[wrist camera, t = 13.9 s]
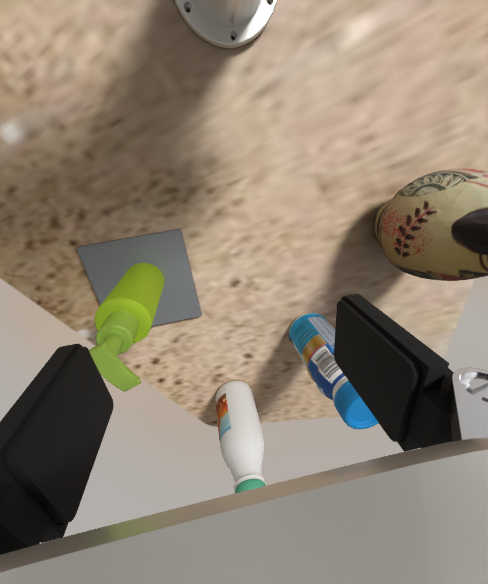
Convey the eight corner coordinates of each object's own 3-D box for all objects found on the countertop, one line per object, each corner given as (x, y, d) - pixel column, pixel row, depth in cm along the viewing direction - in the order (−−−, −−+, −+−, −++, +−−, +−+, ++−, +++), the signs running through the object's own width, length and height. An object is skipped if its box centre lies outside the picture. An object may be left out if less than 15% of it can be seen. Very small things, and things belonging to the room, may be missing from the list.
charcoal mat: (78, 246, 37) (75, 248, 36) (180, 228, 39) (180, 229, 38) (115, 331, 43) (113, 334, 42) (201, 313, 45) (201, 315, 44)
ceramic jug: (456, 191, 44) (871, 207, 17) (407, 271, 49) (667, 383, 22) (381, 150, 39) (798, 80, 12) (335, 244, 44) (557, 343, 17)
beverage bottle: (327, 307, 49) (403, 380, 31) (327, 342, 53) (395, 426, 34) (285, 315, 48) (339, 395, 30) (288, 350, 52) (337, 441, 34)
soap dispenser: (144, 308, 42) (104, 405, 24) (117, 274, 39) (47, 355, 21) (175, 291, 41) (159, 376, 23) (150, 255, 38) (109, 322, 20)
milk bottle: (234, 373, 52) (254, 476, 34) (258, 390, 55) (289, 494, 37) (207, 396, 53) (213, 507, 35) (233, 412, 56) (250, 522, 38)
